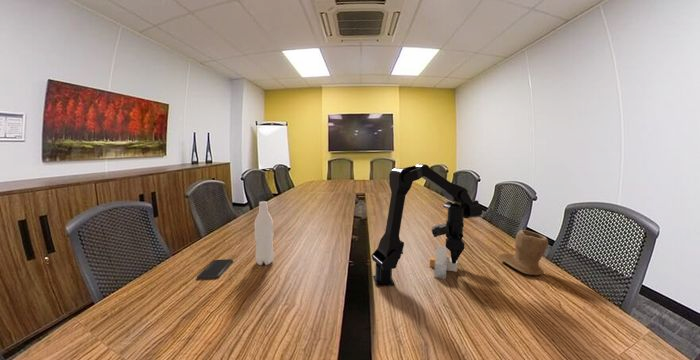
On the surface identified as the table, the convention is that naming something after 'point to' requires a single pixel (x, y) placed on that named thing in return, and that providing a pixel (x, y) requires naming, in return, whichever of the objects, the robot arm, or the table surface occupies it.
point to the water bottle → (264, 235)
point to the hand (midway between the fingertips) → (453, 258)
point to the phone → (215, 269)
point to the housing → (440, 262)
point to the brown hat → (527, 252)
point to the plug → (449, 264)
